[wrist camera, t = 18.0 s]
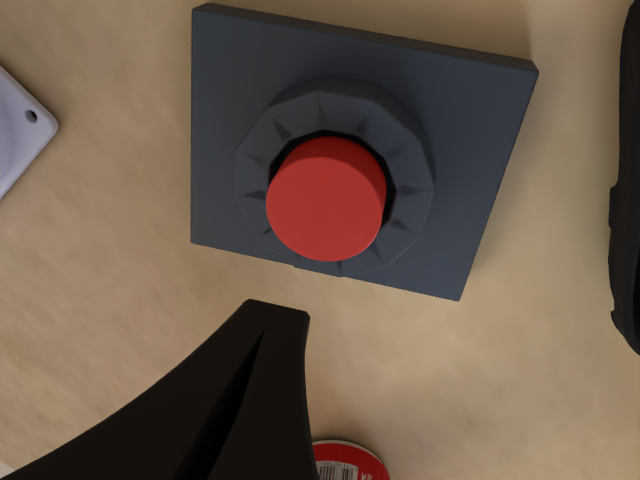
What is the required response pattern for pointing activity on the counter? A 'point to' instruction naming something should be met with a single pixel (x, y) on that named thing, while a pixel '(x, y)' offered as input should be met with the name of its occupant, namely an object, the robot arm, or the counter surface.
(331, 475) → the beverage can
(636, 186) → the egg carton
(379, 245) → the switch block
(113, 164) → the counter surface
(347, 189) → the power button
